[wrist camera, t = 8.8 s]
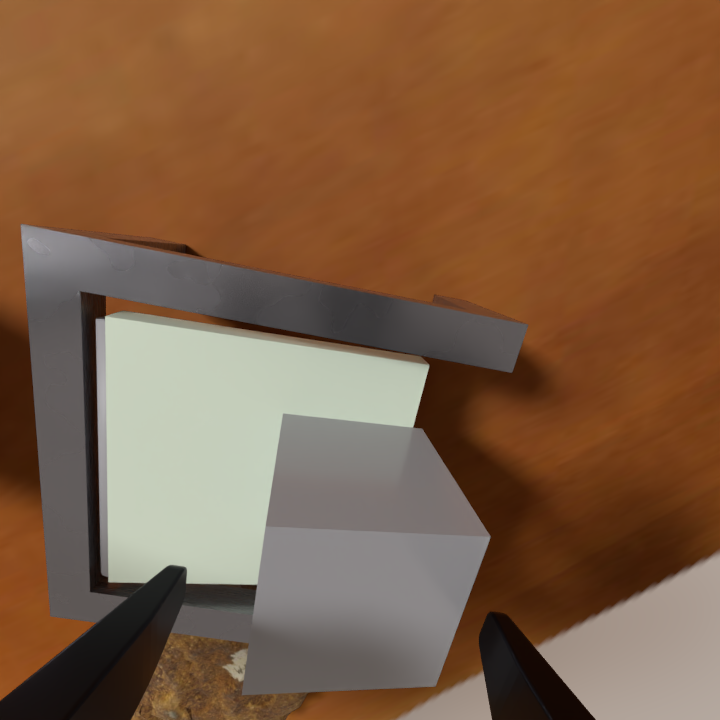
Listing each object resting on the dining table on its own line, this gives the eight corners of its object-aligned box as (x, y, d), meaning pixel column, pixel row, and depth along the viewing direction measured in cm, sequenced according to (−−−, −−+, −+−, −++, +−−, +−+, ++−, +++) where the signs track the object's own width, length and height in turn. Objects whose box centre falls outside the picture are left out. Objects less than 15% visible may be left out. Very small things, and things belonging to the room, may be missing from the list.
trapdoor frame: (144, 507, 19) (50, 616, 13) (151, 237, 15) (20, 224, 9) (397, 546, 20) (413, 665, 14) (466, 300, 16) (528, 324, 10)
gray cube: (265, 532, 13) (241, 695, 8) (283, 413, 12) (265, 526, 7) (392, 538, 14) (435, 686, 9) (421, 428, 13) (490, 537, 8)
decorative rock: (256, 726, 25) (351, 577, 22) (242, 813, 21) (354, 646, 18) (95, 687, 23) (173, 515, 20) (45, 775, 19) (133, 578, 16)
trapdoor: (109, 558, 13) (94, 582, 13) (107, 308, 11) (87, 314, 10) (367, 566, 15) (371, 586, 15) (420, 356, 13) (429, 364, 12)
